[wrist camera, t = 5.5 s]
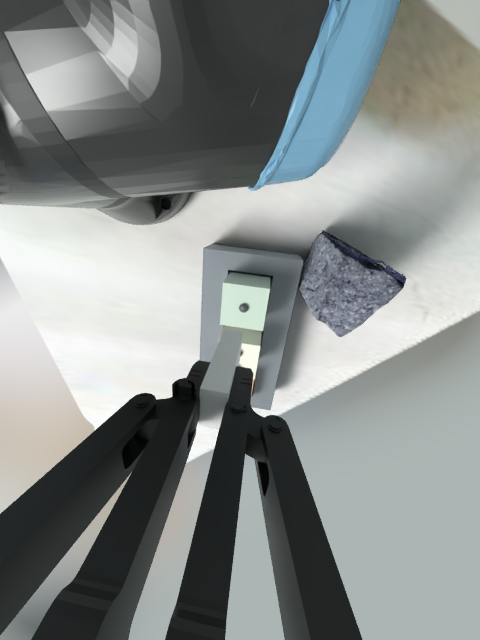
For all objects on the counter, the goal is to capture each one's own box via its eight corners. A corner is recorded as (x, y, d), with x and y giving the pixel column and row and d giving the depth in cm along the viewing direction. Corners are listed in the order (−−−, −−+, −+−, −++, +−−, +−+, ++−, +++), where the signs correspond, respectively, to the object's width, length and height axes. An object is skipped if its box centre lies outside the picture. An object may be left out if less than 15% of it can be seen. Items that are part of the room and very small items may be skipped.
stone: (334, 216, 30) (402, 259, 28) (292, 276, 36) (346, 315, 34) (315, 219, 20) (416, 285, 19) (262, 301, 26) (335, 356, 24)
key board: (212, 244, 31) (203, 248, 27) (299, 255, 31) (303, 261, 27) (205, 379, 42) (198, 397, 38) (270, 390, 41) (270, 410, 37)
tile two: (226, 321, 31) (218, 340, 27) (262, 327, 31) (260, 347, 26) (223, 351, 34) (215, 374, 29) (257, 357, 33) (254, 380, 29)
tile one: (230, 271, 28) (222, 283, 24) (270, 277, 28) (270, 289, 23) (227, 308, 31) (219, 325, 26) (264, 313, 30) (262, 331, 26)
